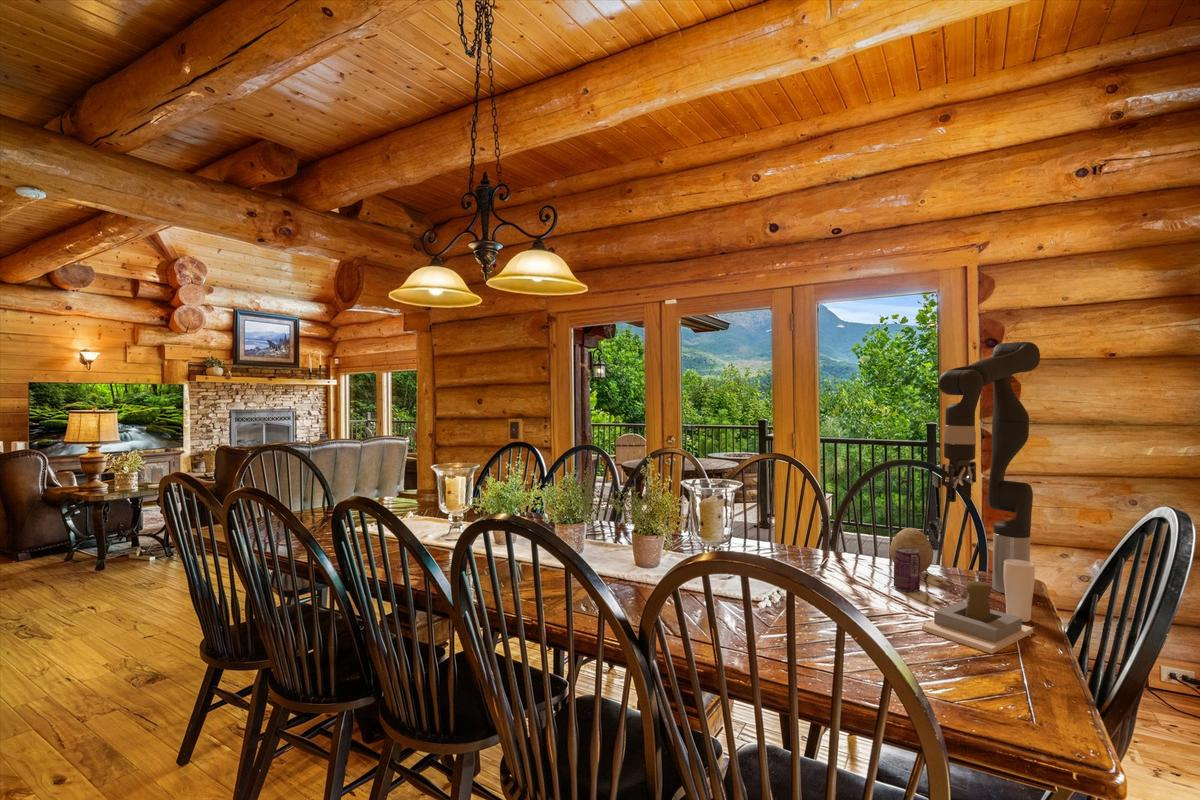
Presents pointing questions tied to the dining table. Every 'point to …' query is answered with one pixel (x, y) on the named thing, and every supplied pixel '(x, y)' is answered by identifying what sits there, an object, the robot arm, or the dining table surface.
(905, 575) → the beverage can
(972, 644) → the socket board
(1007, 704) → the dining table surface
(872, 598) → the dining table surface
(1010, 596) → the drinking glass
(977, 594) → the cork
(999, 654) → the dining table surface
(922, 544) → the fossilized egg
